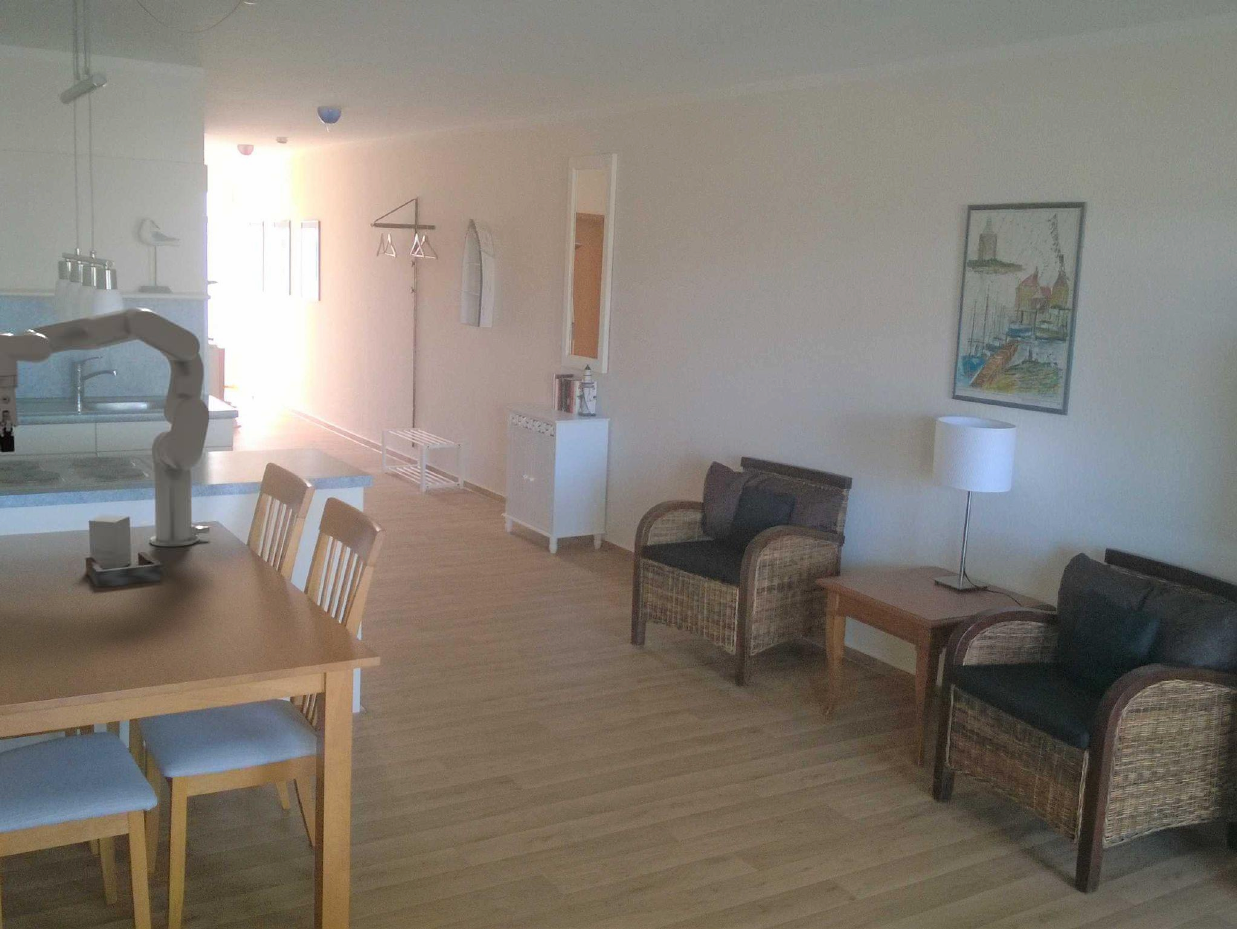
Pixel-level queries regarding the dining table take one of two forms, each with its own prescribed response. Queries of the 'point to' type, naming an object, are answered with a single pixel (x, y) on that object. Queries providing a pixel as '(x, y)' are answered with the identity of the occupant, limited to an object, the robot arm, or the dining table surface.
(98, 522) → the supplement box
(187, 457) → the robot arm
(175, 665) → the dining table surface
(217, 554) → the dining table surface
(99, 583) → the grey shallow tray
